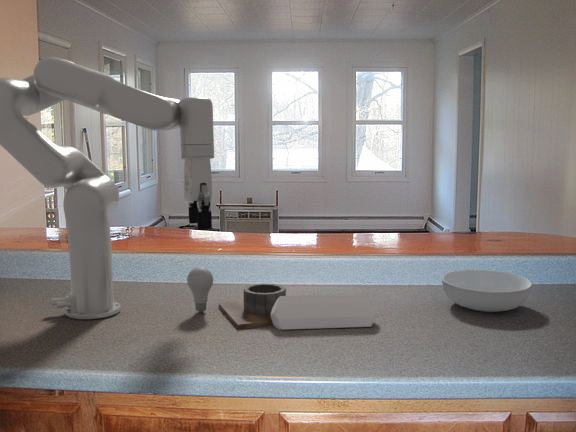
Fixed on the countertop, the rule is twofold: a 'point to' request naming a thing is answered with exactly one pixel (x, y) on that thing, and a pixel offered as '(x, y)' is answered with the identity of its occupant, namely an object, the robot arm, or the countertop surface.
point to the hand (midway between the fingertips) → (200, 226)
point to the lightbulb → (200, 286)
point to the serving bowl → (486, 289)
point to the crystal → (323, 311)
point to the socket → (253, 306)
